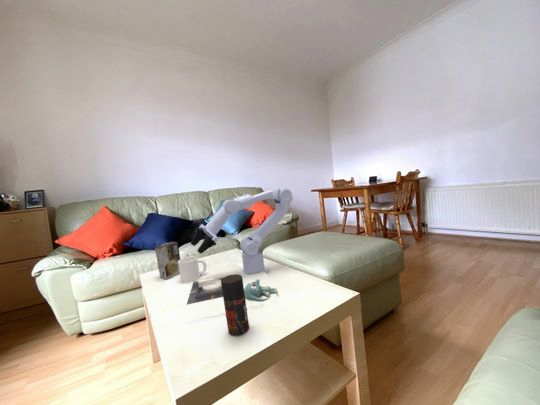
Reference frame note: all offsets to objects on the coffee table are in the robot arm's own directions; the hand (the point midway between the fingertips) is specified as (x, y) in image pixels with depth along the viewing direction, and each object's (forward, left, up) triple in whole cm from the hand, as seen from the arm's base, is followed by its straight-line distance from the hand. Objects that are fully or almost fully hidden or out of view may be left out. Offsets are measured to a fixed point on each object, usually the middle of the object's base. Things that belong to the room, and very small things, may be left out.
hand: (195, 248), depth 99 cm
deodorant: (-13, +36, -17) cm, 42 cm away
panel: (-5, +7, -17) cm, 19 cm away
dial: (-4, +7, -15) cm, 17 cm away
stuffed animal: (-22, +20, -17) cm, 35 cm away
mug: (+4, -10, -17) cm, 20 cm away
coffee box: (+17, -23, -17) cm, 33 cm away
